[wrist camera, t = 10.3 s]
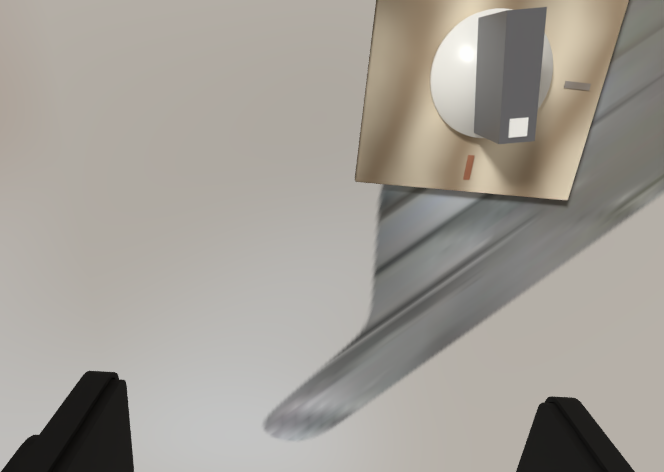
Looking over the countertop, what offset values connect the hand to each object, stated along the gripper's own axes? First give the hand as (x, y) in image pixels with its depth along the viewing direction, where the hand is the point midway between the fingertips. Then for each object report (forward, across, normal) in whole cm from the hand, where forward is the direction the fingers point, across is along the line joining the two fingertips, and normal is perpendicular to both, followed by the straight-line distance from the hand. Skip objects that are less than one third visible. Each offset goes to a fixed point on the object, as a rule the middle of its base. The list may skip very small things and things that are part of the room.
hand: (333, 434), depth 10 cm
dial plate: (+28, -12, -8) cm, 32 cm away
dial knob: (+27, -12, -8) cm, 31 cm away
